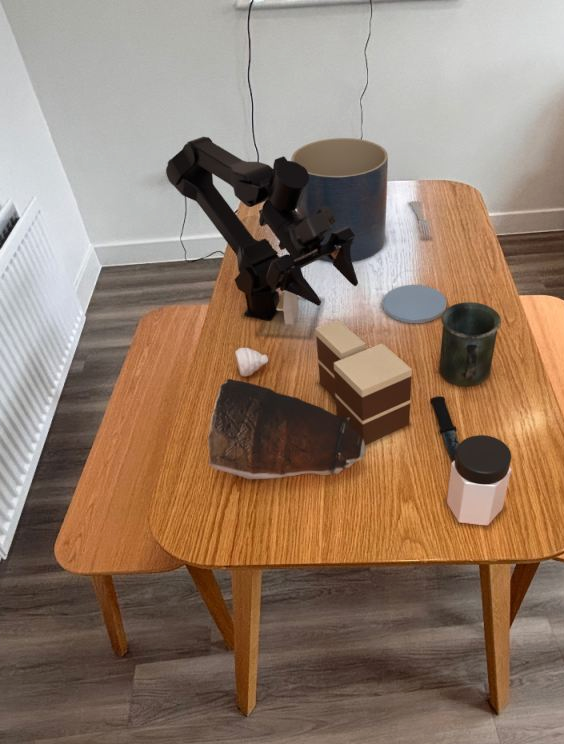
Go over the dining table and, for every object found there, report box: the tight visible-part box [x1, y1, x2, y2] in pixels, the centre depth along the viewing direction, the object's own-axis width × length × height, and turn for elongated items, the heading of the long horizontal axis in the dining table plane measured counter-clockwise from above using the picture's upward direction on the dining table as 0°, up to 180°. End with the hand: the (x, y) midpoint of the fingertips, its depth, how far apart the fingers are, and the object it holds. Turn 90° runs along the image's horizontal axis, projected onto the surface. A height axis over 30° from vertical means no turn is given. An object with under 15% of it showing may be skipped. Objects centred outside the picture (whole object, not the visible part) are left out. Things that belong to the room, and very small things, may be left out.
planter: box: [290, 137, 389, 263], centre depth 154 cm, size 22×22×20 cm
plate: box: [382, 284, 448, 324], centre depth 142 cm, size 14×14×1 cm
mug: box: [438, 301, 502, 388], centre depth 120 cm, size 11×15×12 cm
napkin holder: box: [276, 290, 300, 325], centre depth 138 cm, size 3×7×7 cm, turn 172°
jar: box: [446, 434, 512, 526], centre depth 99 cm, size 9×8×12 cm
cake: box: [334, 342, 413, 446], centre depth 113 cm, size 9×10×12 cm
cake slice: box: [315, 319, 366, 401], centre depth 119 cm, size 9×5×12 cm, turn 32°
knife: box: [430, 395, 460, 463], centre depth 113 cm, size 21×1×3 cm
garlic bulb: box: [234, 347, 269, 378], centre depth 126 cm, size 6×6×5 cm
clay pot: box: [206, 378, 367, 480], centre depth 107 cm, size 15×15×25 cm
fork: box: [409, 201, 431, 241], centre depth 168 cm, size 3×21×3 cm, turn 5°
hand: (338, 294), depth 118 cm, fingers open, 9 cm apart
